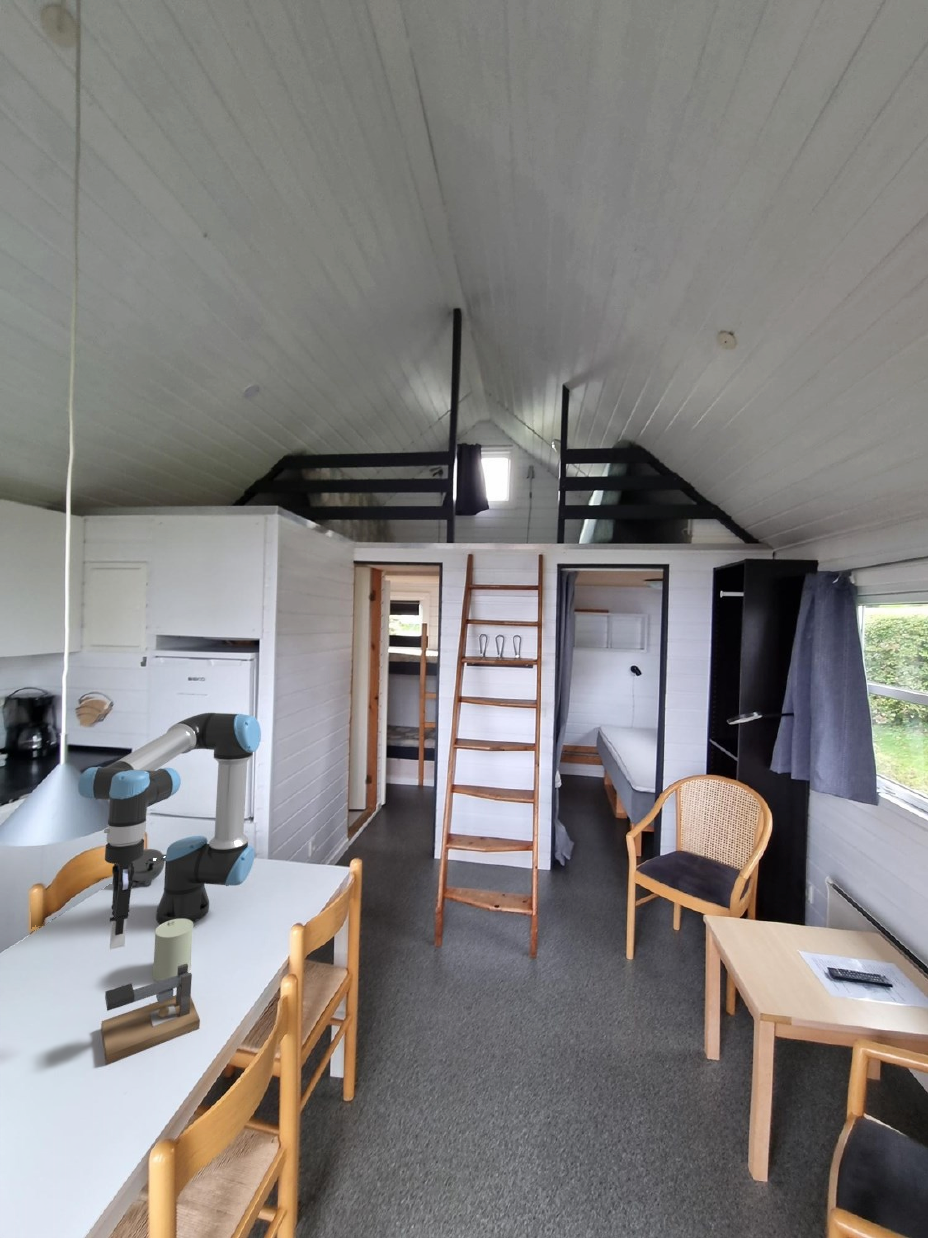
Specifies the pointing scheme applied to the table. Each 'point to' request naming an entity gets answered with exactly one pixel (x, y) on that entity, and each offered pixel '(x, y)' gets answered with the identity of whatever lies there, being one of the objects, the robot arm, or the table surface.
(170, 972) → the can
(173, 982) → the lever
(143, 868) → the piggy bank
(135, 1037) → the base
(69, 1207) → the table surface
